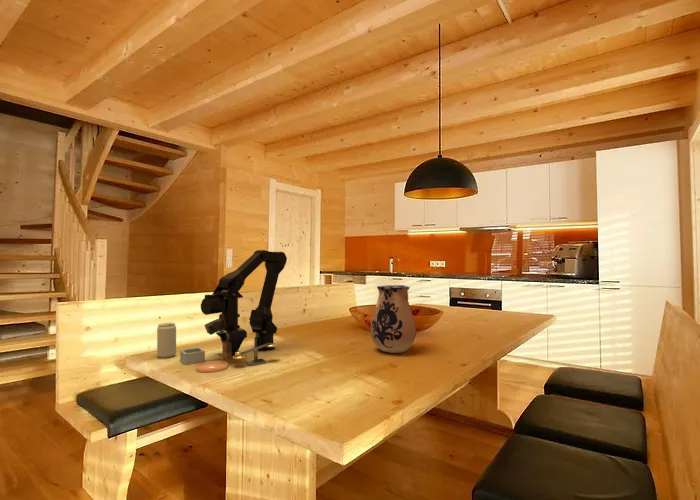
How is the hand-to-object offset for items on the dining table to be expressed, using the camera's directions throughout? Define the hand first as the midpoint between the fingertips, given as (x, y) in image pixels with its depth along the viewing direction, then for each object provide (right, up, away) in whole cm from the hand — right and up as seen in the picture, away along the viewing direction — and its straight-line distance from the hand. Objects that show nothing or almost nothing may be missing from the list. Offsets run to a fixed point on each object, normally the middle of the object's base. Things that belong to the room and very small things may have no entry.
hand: (229, 354), depth 146 cm
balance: (+11, -1, -7) cm, 13 cm away
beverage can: (-24, -2, +3) cm, 24 cm away
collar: (-12, -1, -4) cm, 13 cm away
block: (0, -1, 0) cm, 1 cm away
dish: (-2, -1, -13) cm, 13 cm away
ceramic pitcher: (+61, -2, +13) cm, 62 cm away
